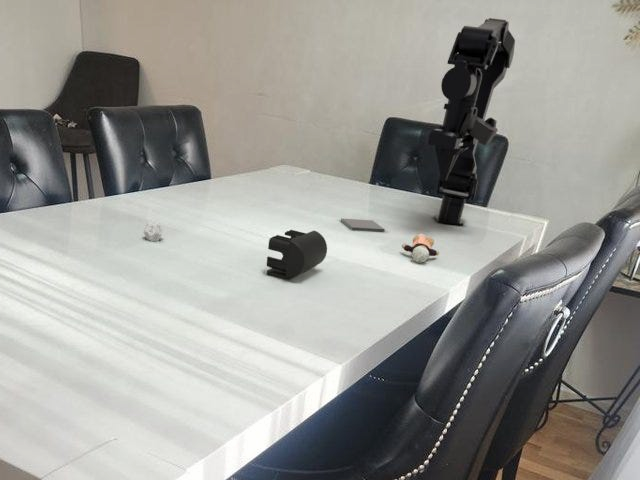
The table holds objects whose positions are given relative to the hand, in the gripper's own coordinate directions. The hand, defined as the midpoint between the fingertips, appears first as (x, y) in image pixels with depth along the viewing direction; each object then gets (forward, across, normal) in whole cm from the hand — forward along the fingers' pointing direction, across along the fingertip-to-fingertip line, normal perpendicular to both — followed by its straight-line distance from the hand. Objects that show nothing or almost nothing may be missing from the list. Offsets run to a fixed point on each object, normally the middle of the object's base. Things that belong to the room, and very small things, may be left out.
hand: (443, 180), depth 144 cm
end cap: (+12, -52, +8) cm, 54 cm away
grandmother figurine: (+11, -14, -2) cm, 18 cm away
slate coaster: (+12, -7, +15) cm, 20 cm away
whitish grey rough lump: (+12, -55, +38) cm, 68 cm away
